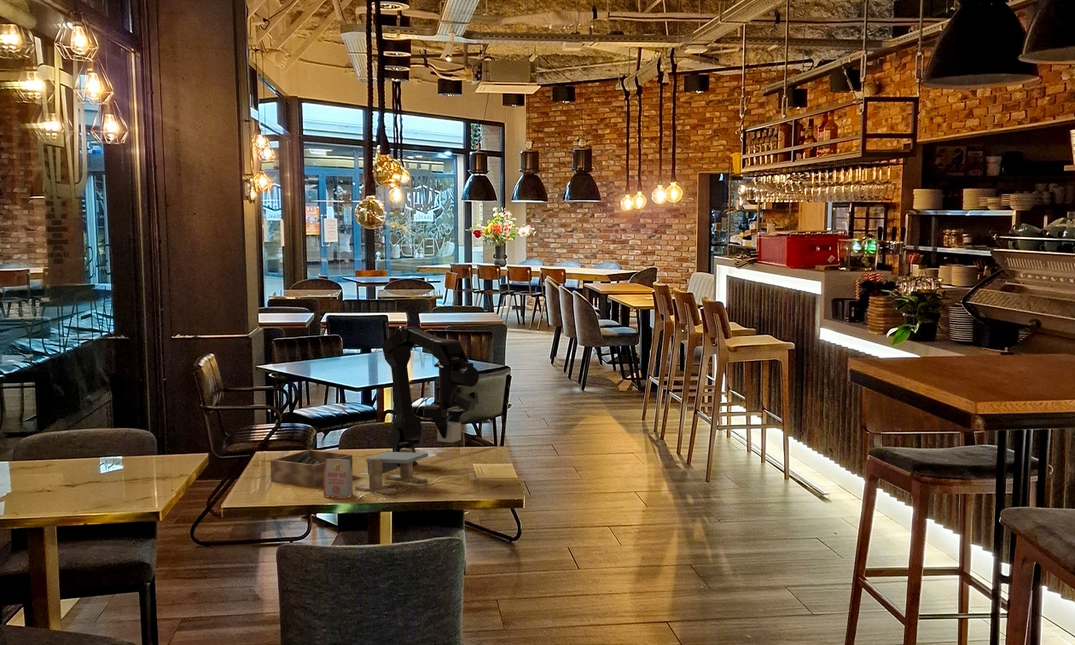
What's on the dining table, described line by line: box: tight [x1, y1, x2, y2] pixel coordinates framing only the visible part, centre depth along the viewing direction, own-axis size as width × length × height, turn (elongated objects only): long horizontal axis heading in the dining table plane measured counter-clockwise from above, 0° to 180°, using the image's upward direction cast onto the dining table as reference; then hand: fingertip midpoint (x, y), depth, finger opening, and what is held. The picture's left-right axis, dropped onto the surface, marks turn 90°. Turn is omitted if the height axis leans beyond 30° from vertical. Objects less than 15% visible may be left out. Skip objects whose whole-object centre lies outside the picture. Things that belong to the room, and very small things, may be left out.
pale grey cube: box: [436, 420, 462, 443], centre depth 272 cm, size 5×5×5 cm
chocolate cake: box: [293, 449, 319, 465], centre depth 273 cm, size 10×7×12 cm
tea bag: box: [322, 459, 354, 498], centre depth 251 cm, size 4×7×10 cm, turn 79°
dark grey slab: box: [365, 451, 429, 475], centre depth 261 cm, size 14×10×5 cm
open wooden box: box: [270, 449, 354, 488], centre depth 272 cm, size 16×16×6 cm
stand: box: [354, 448, 428, 495], centre depth 262 cm, size 12×18×9 cm
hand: (449, 436), depth 272 cm, fingers closed on pale grey cube, 5 cm apart
